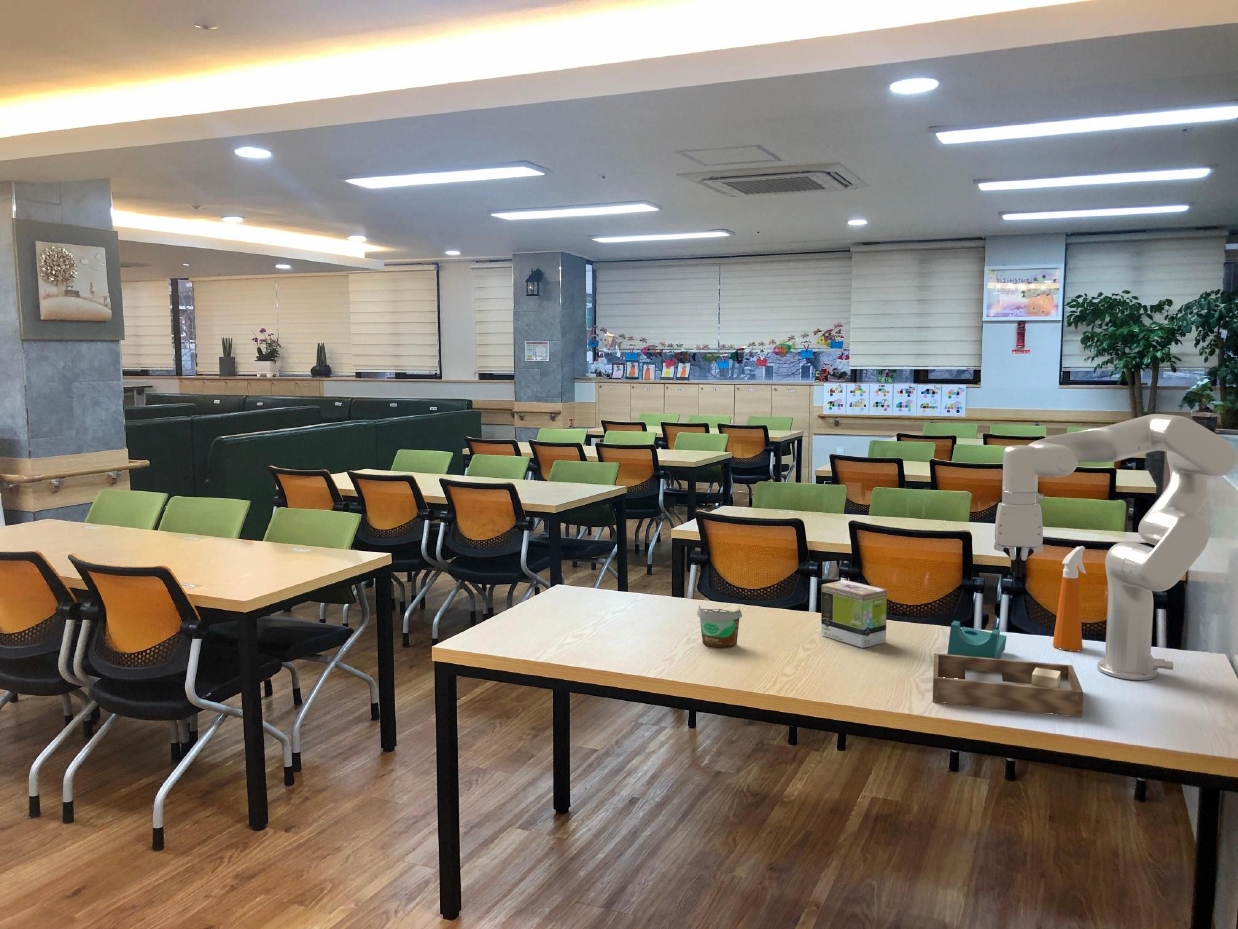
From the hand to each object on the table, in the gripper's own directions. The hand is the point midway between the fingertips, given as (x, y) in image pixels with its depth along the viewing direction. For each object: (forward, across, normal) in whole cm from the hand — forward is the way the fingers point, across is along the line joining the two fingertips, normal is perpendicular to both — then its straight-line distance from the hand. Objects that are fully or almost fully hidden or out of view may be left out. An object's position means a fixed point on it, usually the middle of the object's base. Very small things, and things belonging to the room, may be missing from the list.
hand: (1017, 575), depth 215 cm
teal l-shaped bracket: (+25, +8, -12) cm, 29 cm away
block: (+22, -5, +17) cm, 29 cm away
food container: (+25, +73, -4) cm, 77 cm away
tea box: (+25, +39, -20) cm, 51 cm away
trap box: (+25, +3, +13) cm, 28 cm away
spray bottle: (+25, -16, -30) cm, 42 cm away
